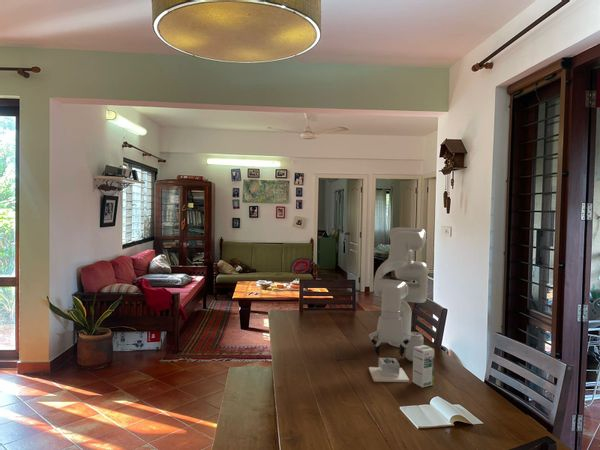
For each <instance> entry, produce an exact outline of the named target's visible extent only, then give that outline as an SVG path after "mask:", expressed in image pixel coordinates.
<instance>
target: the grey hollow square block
mask: <svg viewBox="0 0 600 450" xmlns="http://www.w3.org/2000/svg"><path fill="white" fill-rule="evenodd" d="M386 358H387V357H378V365H377V366H378V370H379V372H380V374H381V376H382V377H399V368H401V367H400V363H399V362H398V360H397V358H393V357H390V358H391V359H392V363H386Z"/></svg>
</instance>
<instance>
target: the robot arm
mask: <svg viewBox="0 0 600 450" xmlns="http://www.w3.org/2000/svg"><path fill="white" fill-rule="evenodd" d="M388 232H389V233H388V236H389V240H390V245H389V246H390V247H389V252H388V258H387V259H386V260H385V261H383V262H382V263H381V264H380V266H378V268H377V270H376V271H375V276H374V280H373V287H372V289H373V293H374V295H375V296H377V297H381V315H379V317H378V321H377V328H376V331H374V332H370V333H369V334H368V337H369V340H370V341H371V343H372V344H373V345H374V353H375V355H376V356H377V357H379V356H380V345H381V343H387V344H389V345H390V346H392V347H396V348H399V349H398V350H399V351H398V352H399V355H400V357H404V354H405V349H406V344H408V343H409V340H410V339H411V335H410V334H408V333H409V332H412V331H411V330H412V308H411V306H410V305H409V303H420V304H421V303H425V302H426V301H427V299H428V284H429V283H428V282H429V280H428V276H429V275H428V274H429V270H428V269H429V268H428V265H427V264H426V263H425V262H423V261H414V260H413V257H414V256H413V254H414V252H413V251H422V250H423V249H424V247H425V245H426V242H427V232H426V230H425V229H424V228H420V227H419V228H418V227H393V228H391V229H390V230H389V231H388ZM392 271H394V275H395V277H396V278H397V280H396V279H386V278H383V277H384V276H385V275H386V274H388V273H389V272H392ZM398 279H399V280H398ZM403 280H404V281H403ZM405 280H407V281H405ZM409 281H410V282H409ZM411 281H414V282H411ZM408 302H409V303H408ZM374 337H376V339H374Z"/></svg>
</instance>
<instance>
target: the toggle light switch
mask: <svg viewBox="0 0 600 450" xmlns="http://www.w3.org/2000/svg"><path fill="white" fill-rule="evenodd" d="M385 358H386V363H392V359H391V358H392V357H385ZM368 371H369V373H370V376H371V377H372V380H373V382H378V383H379V382H385V383H389V382H390V383H410V379H409V377H408V375H407V374H406V371H405V370H404V369H403V367H399V377H382V376H381V374H380V372H379V370H378V367H375V366H369V367H368Z"/></svg>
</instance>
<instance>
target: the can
mask: <svg viewBox="0 0 600 450" xmlns="http://www.w3.org/2000/svg"><path fill="white" fill-rule="evenodd" d="M408 334H410V335H411V339H410V340H409V343H408V344H406V348H405V358H406V359H407V361H410V362H413V349H414V347H417V346H423V345H424V340H425V339H424V336H423V333H421V332H417V331H411V332H409V333H408Z"/></svg>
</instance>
